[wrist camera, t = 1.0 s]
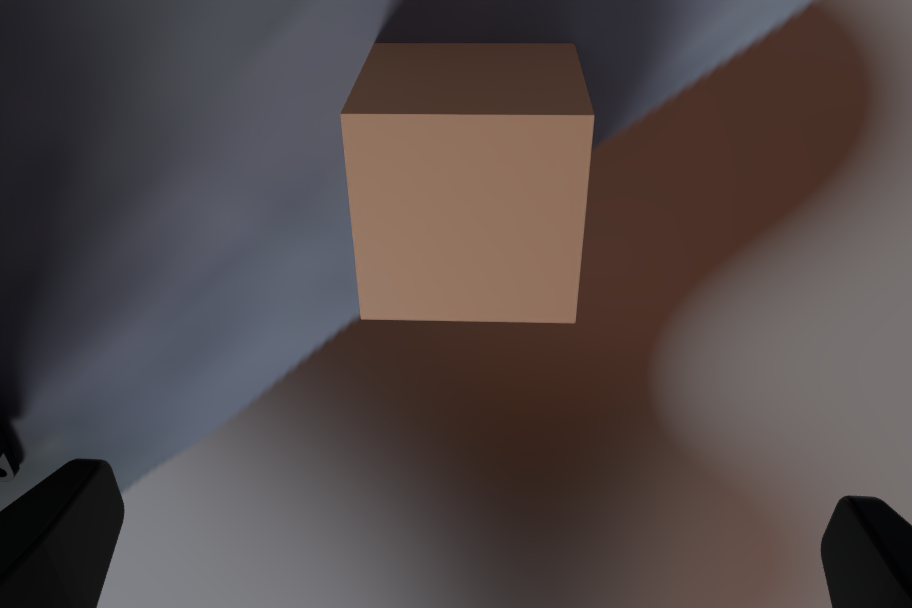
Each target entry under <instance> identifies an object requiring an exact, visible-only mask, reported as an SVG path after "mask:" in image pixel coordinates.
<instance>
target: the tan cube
mask: <svg viewBox="0 0 912 608" xmlns="http://www.w3.org/2000/svg"><path fill="white" fill-rule="evenodd" d="M340 115H341V125H342V135H343V145H344V155H345V165H346V174H347V184H348V194H349V204H350V214H351V224H352V234H353V244H354V254H355V264H356V274H357V284H358V294H359V304H360V314H361V319H379V320H432V321H433V320H434V321H436V320H438V321H487V322H489V321H490V322H541V323H575V319H576V309H577V298H578V287H579V276H580V265H581V255H582V245H583V234H584V223H585V212H586V202H587V190H588V180H589V168H590V159H591V148H592V137H593V127H594V116H595V115H594V112H593V108H592V104H591V101H590V97H589V93H588V90H587V86H586V83H585V79H584V75H583V72H582V68H581V64H580V61H579V57H578V54H577V50H576V46H575V43H374V44H373V46H372V49H371V51H370V53H369V55H368V57H367V59H366V61H365V63H364V65H363V67H362V70H361V72H360V74H359V76H358V78H357V80H356V82H355V84H354V86H353V88H352V91H351V93H350V95H349V97H348V99H347V101H346V103H345V105H344V107H343V109H342V112H341V114H340Z"/></svg>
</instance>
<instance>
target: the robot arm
mask: <svg viewBox="0 0 912 608" xmlns="http://www.w3.org/2000/svg"><path fill="white" fill-rule="evenodd" d="M19 469H20V468H19V464H18V462H17V460H16V458H15V455H14V453H13V451H12V449H11V447H10V445H9V443H8V441H7V438H6V436H5V434H4V432H3V430H2V428H1V426H0V482H9V481H11V480H13V478H14V477H15V475H16V474H17V472H18V471H19ZM123 519H124V503H123V500H122V496H121V494H120V491H119V488H118V485H117V482H116V479H115V476H114V473H113V470H112V468H111V466H110V464H109V463H108V462H107V461H105V460H100V459H74V460H71V461H69V462H68V463H66V464H65V465H63V466H62V467H60V468H59V469H58V470H56V471H55V472H54V473H52V474H51V475H50V476H48V477H47V478H45V479H44V480H43V481H41V482H40V483H39V484H37V485H36V486H35V487H33V488H32V489H30V490H29V491H28V492H26V493H25V494H24V495H22V496H21V497H19V498H18V499H17V500H15V501H14V502H13V503H11V504H10V505H9V506H7V507H6V508H4V509H3V510H2V511H0V608H96V607H97V604H98V601H99V598H100V594H101V591H102V588H103V585H104V582H105V578H106V575H107V572H108V568H109V565H110V562H111V559H112V555H113V553H114V549H115V546H116V543H117V540H118V536H119V533H120V530H121V527H122V523H123ZM821 558H822V563H823V568H824V572H825V576H826V581H827V586H828V590H829V595H830V599H831V604H832V608H912V525H911V524H910V523H908V522H907V521H906V520H905V519H904V518H903V517H901V516H900V515H899V514H898V513H897V512H896V511H894V510H893V509H892V508H891V507H890V506H889V505H888V504H886V503H885V502H884V501H882V500H881V499H879V498H876V497H867V496H844V497H842V498H841V499H840V500H839V501H838V503H837V505H836V507H835V510H834V512H833V514H832V516H831V519H830V521H829V523H828V526H827V528H826V530H825V533H824V535H823V538H822V541H821Z"/></svg>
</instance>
